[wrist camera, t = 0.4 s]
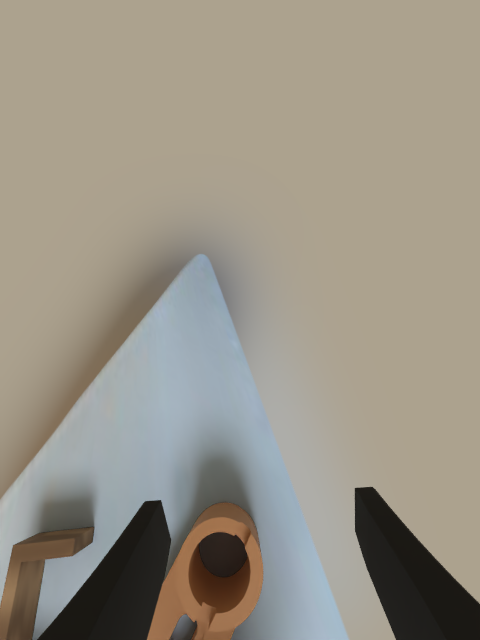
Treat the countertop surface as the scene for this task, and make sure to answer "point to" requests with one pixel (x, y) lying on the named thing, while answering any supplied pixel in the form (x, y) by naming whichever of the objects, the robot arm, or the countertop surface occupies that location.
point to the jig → (33, 577)
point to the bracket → (210, 581)
